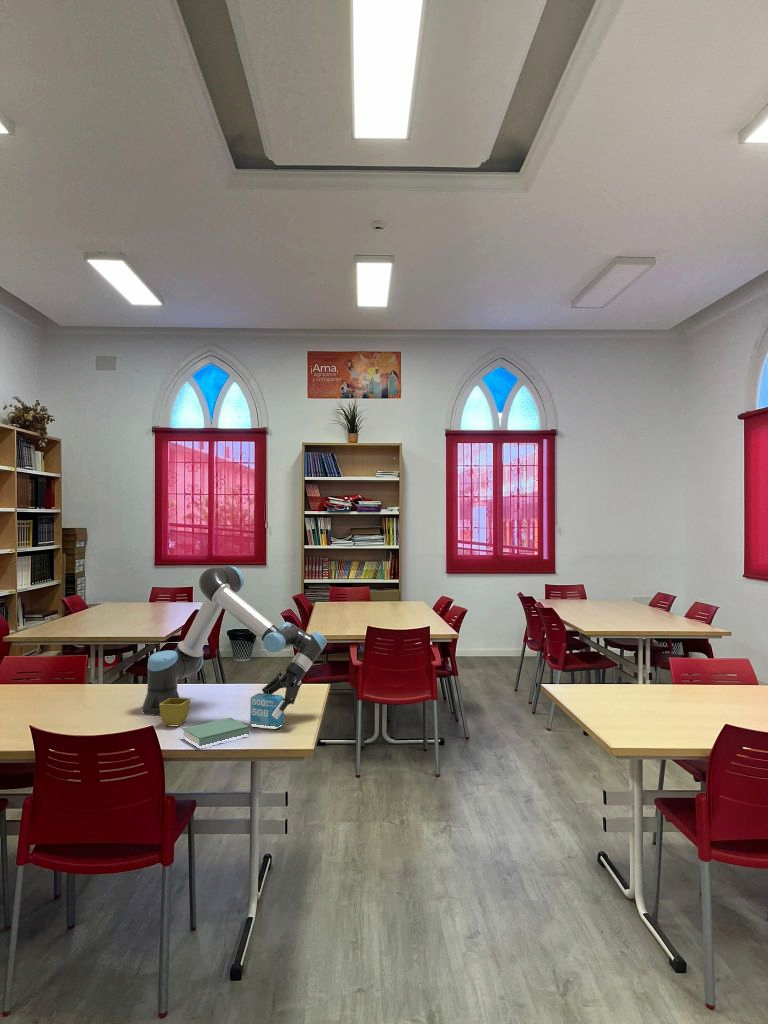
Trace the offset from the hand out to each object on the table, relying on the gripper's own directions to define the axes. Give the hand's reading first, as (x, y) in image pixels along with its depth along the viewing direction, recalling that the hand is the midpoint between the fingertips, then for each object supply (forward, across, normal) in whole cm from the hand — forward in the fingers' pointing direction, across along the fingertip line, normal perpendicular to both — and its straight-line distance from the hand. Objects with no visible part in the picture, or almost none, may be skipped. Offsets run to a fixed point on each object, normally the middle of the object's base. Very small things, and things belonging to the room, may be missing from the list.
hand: (264, 713), depth 230 cm
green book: (+17, +2, +10) cm, 20 cm away
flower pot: (+21, +26, +13) cm, 36 cm away
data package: (+3, 0, -5) cm, 6 cm away
